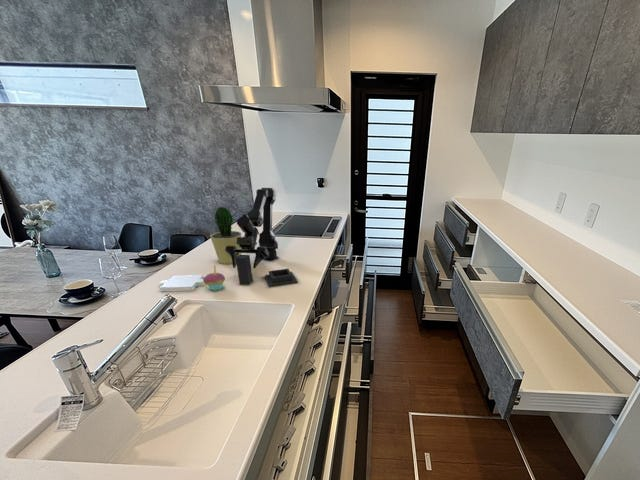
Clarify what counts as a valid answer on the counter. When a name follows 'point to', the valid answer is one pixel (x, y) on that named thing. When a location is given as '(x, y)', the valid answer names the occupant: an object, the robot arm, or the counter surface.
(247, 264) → the post
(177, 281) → the mounting plate
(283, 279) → the socket pad
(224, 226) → the potted cactus
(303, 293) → the counter surface
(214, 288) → the cupcake
